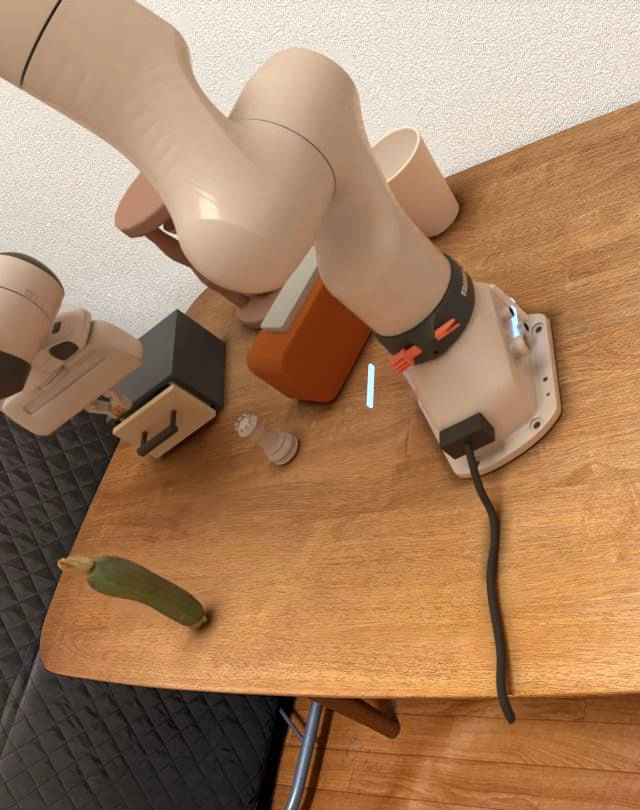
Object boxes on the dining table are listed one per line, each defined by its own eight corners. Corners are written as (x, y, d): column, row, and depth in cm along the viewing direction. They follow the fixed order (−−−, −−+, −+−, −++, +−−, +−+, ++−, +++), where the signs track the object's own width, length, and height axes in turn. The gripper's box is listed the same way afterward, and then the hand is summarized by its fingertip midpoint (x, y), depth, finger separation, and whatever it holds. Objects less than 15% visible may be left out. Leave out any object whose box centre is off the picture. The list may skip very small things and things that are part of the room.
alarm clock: (370, 266, 126) (317, 216, 118) (408, 264, 121) (354, 211, 113) (295, 404, 117) (232, 360, 110) (331, 408, 112) (268, 362, 104)
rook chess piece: (278, 472, 111) (231, 444, 106) (273, 452, 114) (227, 423, 109) (303, 451, 111) (257, 421, 105) (296, 431, 114) (252, 401, 108)
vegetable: (199, 604, 105) (52, 541, 92) (224, 594, 104) (78, 528, 90) (192, 637, 103) (40, 578, 89) (217, 628, 101) (66, 565, 87)
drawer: (215, 437, 123) (170, 410, 117) (154, 480, 126) (109, 456, 120) (217, 354, 136) (178, 326, 131) (162, 395, 139) (122, 369, 133)
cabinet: (223, 407, 128) (171, 373, 121) (159, 453, 131) (105, 422, 124) (224, 342, 139) (177, 308, 132) (166, 386, 142) (116, 355, 135)
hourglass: (241, 348, 134) (104, 249, 117) (246, 281, 146) (122, 182, 129) (325, 291, 129) (194, 179, 112) (323, 226, 141) (205, 115, 124)
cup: (446, 252, 117) (388, 191, 108) (394, 248, 125) (337, 192, 116) (486, 186, 120) (433, 122, 112) (434, 187, 128) (381, 127, 120)
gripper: (-25, 415, 110) (70, 464, 119) (84, 330, 105) (174, 387, 115) (-15, 383, 114) (76, 432, 124) (90, 299, 109) (177, 357, 119)
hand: (124, 410), depth 119 cm, fingers closed
